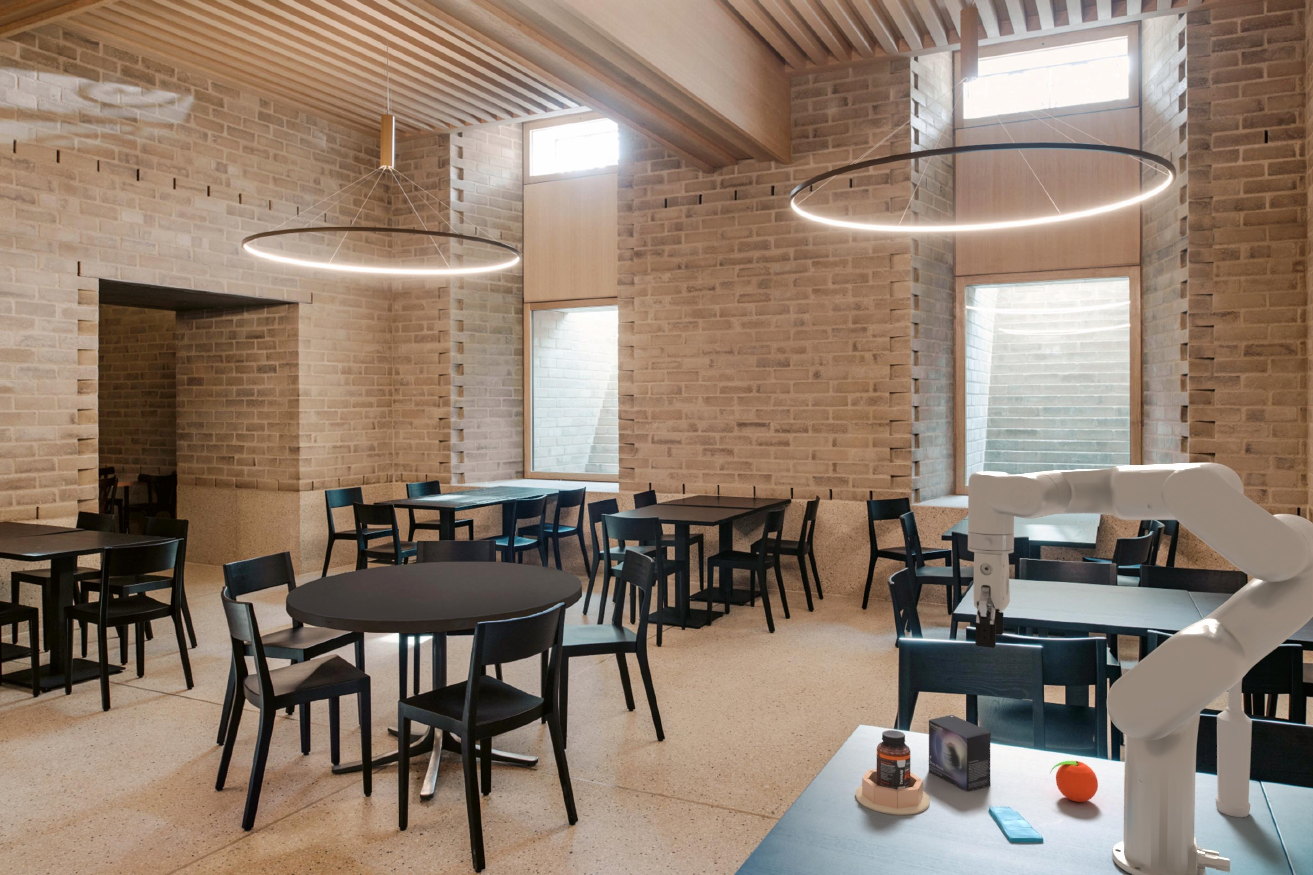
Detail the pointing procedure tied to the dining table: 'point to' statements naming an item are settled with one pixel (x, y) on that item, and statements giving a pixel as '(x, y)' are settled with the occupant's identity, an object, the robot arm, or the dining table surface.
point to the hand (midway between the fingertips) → (989, 639)
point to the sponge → (1014, 825)
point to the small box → (959, 752)
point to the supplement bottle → (893, 761)
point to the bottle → (1233, 756)
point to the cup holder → (892, 796)
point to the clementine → (1076, 780)
